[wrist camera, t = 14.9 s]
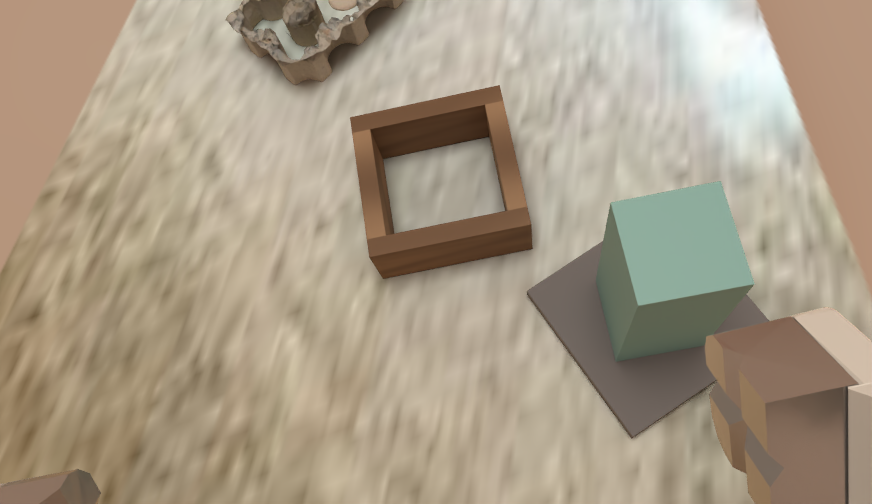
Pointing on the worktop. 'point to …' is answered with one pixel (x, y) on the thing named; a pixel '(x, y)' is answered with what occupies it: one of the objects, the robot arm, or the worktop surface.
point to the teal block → (670, 270)
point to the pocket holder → (429, 130)
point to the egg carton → (303, 31)
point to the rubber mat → (592, 350)
